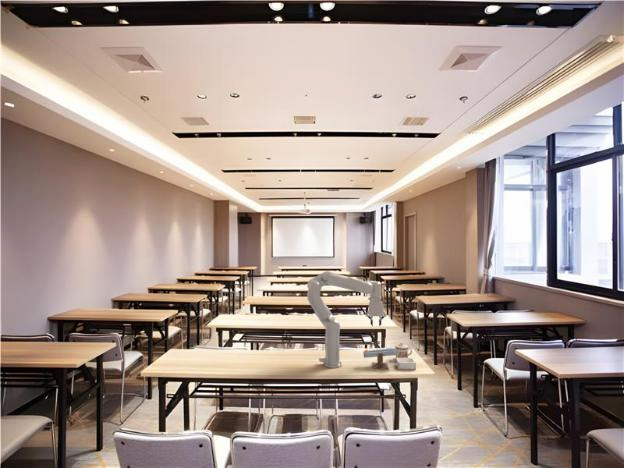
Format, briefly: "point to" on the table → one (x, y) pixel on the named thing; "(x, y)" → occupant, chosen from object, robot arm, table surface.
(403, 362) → the white rectangular tray
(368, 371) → the table surface
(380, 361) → the stand
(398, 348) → the teacup with lid
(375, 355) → the lever
